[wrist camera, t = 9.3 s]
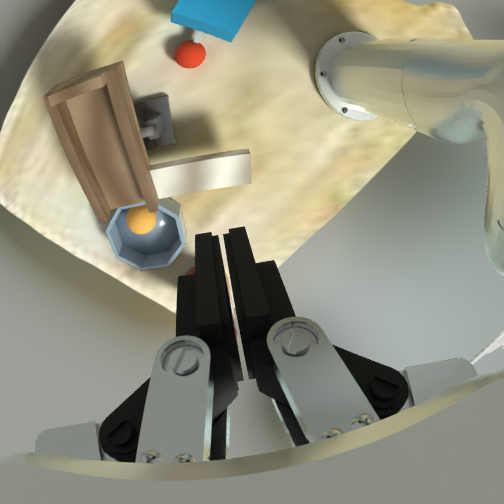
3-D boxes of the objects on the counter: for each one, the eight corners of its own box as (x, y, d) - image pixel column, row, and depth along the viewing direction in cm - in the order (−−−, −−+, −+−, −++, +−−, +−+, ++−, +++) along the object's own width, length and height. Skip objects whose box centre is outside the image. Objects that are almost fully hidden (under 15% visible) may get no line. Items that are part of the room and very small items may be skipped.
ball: (156, 234, 33) (161, 227, 37) (149, 202, 32) (156, 198, 36) (126, 240, 33) (134, 232, 37) (119, 208, 32) (128, 204, 36)
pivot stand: (168, 95, 29) (161, 98, 24) (175, 142, 32) (171, 153, 28) (77, 120, 28) (58, 130, 23) (88, 163, 31) (71, 179, 27)
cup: (176, 184, 35) (174, 194, 33) (190, 248, 41) (190, 262, 38) (105, 199, 34) (98, 211, 32) (126, 259, 40) (122, 274, 37)
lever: (219, -36, 22) (156, 62, 26) (230, -65, 16) (153, 41, 20) (265, -19, 25) (210, 80, 29) (284, -44, 18) (221, 63, 22)
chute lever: (241, 38, 20) (251, 46, 17) (249, 174, 33) (256, 200, 30) (47, 88, 18) (27, 106, 16) (96, 204, 31) (89, 232, 28)
